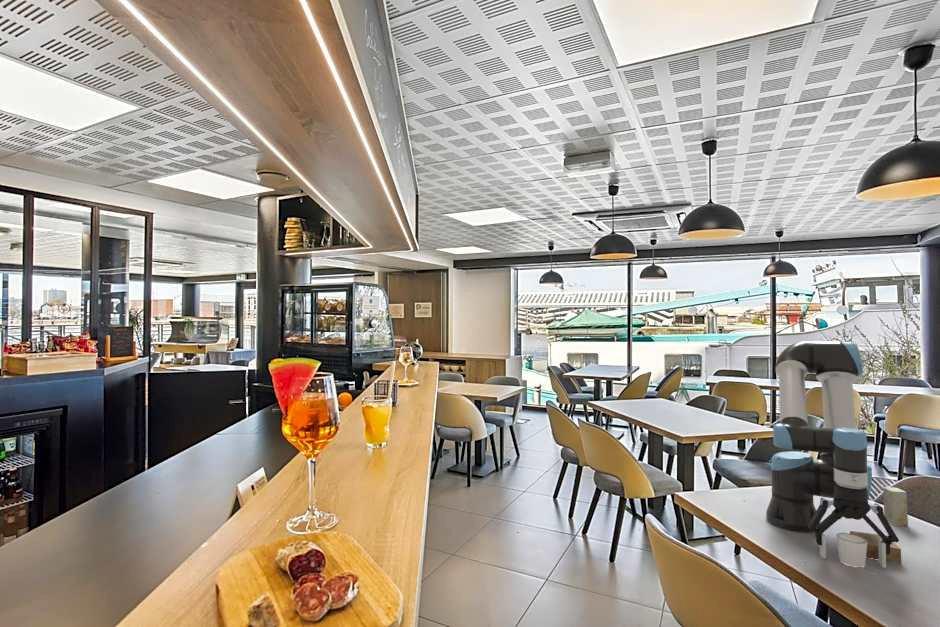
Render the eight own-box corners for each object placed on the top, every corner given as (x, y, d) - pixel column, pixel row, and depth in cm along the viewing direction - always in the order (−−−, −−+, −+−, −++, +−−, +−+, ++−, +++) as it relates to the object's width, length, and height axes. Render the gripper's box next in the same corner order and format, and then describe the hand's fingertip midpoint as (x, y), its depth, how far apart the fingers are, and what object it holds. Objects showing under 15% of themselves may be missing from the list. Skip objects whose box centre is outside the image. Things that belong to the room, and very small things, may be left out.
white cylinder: (830, 557, 138) (830, 532, 138) (852, 556, 139) (852, 531, 139) (851, 569, 131) (851, 543, 131) (874, 568, 132) (874, 542, 132)
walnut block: (861, 557, 138) (861, 543, 138) (850, 544, 146) (850, 530, 146) (901, 563, 134) (900, 549, 134) (887, 549, 143) (887, 535, 143)
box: (908, 526, 158) (907, 492, 159) (893, 525, 159) (892, 491, 159) (897, 519, 163) (897, 487, 164) (883, 518, 164) (882, 486, 165)
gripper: (801, 483, 137) (802, 558, 136) (913, 494, 127) (915, 575, 127) (794, 475, 143) (796, 547, 143) (900, 485, 134) (902, 562, 134)
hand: (852, 560), depth 135 cm, fingers open, 13 cm apart
